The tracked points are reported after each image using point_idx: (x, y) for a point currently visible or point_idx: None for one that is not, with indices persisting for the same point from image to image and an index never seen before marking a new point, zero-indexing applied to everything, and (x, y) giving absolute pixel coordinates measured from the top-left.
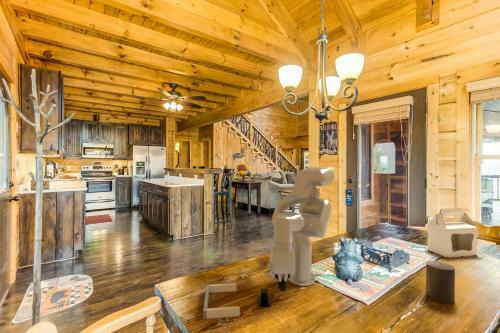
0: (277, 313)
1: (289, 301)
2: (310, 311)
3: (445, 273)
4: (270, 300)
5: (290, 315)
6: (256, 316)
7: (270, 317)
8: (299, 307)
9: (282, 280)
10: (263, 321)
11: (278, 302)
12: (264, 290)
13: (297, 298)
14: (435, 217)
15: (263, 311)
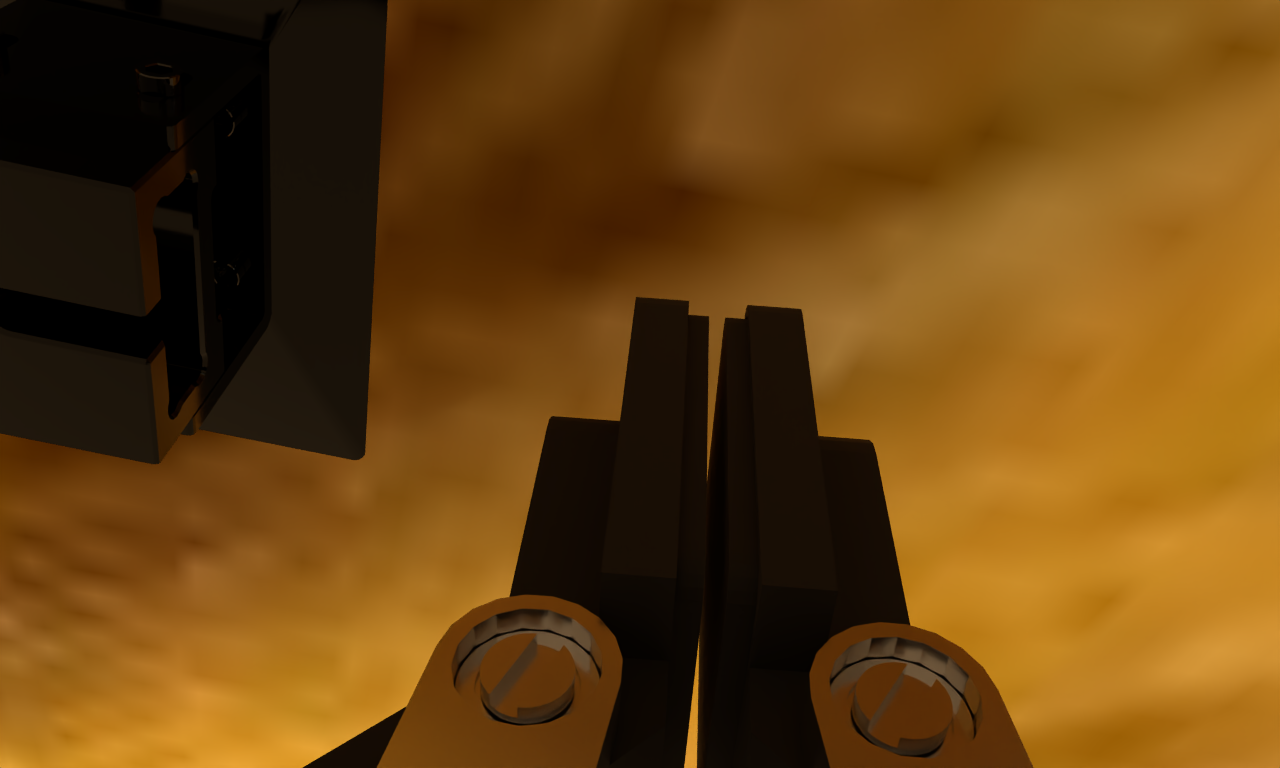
0: None
1: (898, 351)
2: (1153, 729)
3: None
4: (362, 211)
5: (694, 734)
6: (46, 636)
7: (309, 703)
8: (1010, 594)
9: (723, 722)
10: (183, 748)
11: (576, 333)
12: (23, 288)
13: (1225, 264)
14: None
15: (174, 549)
